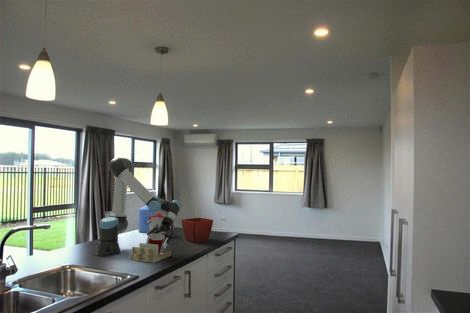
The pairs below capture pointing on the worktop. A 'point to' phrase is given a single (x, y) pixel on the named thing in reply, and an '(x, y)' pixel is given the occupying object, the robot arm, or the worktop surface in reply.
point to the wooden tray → (147, 255)
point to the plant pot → (197, 229)
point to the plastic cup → (156, 240)
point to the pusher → (150, 246)
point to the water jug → (144, 219)
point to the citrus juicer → (155, 221)
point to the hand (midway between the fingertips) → (155, 246)
